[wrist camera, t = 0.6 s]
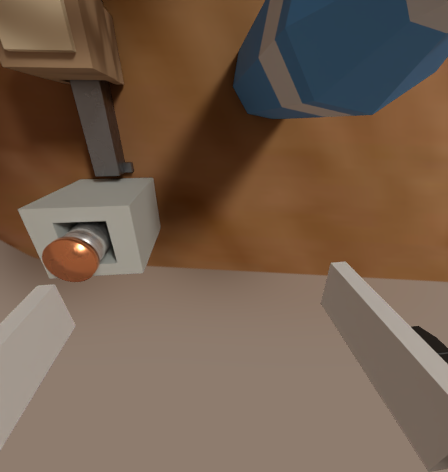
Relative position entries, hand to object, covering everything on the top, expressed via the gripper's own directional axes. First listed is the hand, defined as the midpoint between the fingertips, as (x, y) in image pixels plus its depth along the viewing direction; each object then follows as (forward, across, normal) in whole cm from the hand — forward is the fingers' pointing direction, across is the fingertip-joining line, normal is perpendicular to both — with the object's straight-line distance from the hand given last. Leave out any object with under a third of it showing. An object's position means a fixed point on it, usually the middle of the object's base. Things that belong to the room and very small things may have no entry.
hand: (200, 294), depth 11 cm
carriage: (+25, -12, +14) cm, 31 cm away
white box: (+24, -12, -4) cm, 27 cm away
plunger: (+15, -12, -3) cm, 19 cm away
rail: (+24, -12, +10) cm, 29 cm away
